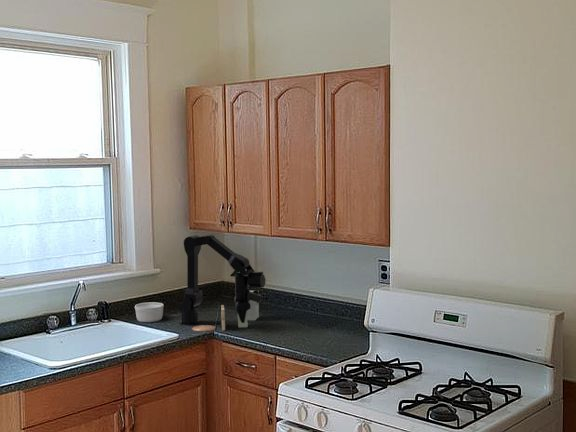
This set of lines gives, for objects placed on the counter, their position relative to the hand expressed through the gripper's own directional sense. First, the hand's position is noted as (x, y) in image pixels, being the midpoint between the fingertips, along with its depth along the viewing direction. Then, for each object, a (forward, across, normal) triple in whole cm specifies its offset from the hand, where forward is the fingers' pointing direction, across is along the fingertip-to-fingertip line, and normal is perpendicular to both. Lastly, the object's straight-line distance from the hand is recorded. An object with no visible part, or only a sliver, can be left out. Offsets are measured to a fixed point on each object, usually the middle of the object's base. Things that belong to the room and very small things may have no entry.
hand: (242, 321), depth 329 cm
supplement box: (+3, +16, -4) cm, 17 cm away
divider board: (+2, 0, +8) cm, 9 cm away
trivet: (+2, 0, +17) cm, 17 cm away
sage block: (+2, 0, 0) cm, 2 cm away
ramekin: (+3, +24, +42) cm, 48 cm away
